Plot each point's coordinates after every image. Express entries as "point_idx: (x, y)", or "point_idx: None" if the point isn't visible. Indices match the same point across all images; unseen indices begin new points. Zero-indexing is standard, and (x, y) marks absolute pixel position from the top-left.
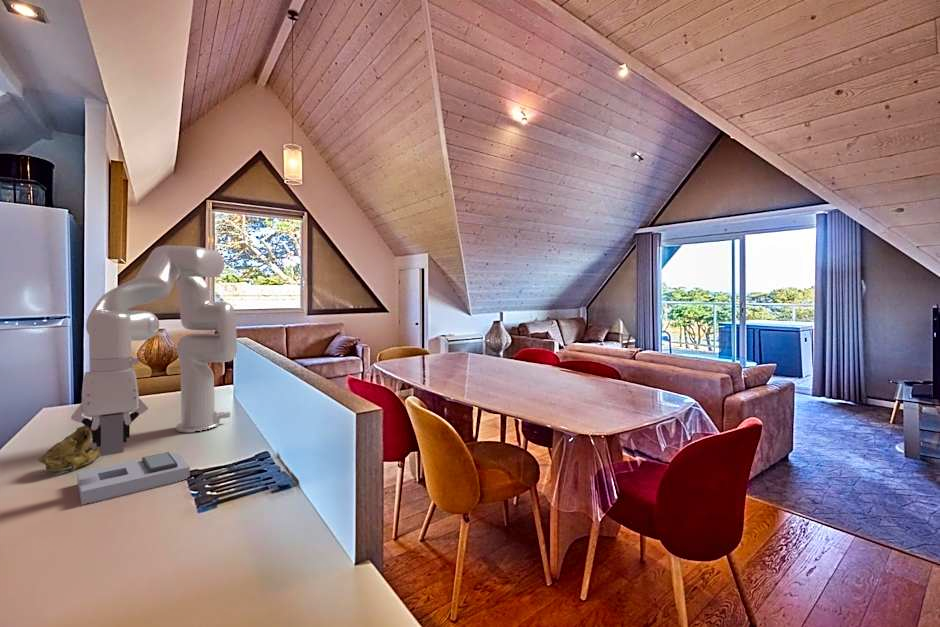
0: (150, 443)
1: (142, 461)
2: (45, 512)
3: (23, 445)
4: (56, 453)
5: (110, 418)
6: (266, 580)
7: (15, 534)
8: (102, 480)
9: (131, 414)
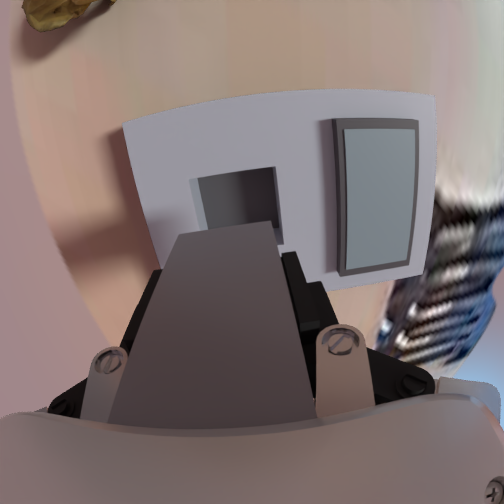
0: None
1: (332, 127)
2: (122, 284)
3: None
4: (44, 3)
5: None
6: None
7: (117, 343)
8: None
9: (384, 399)
